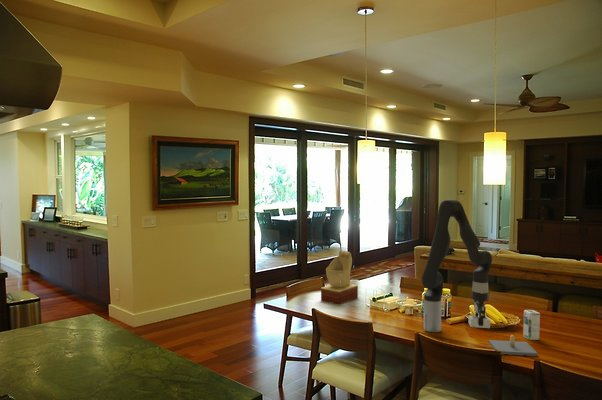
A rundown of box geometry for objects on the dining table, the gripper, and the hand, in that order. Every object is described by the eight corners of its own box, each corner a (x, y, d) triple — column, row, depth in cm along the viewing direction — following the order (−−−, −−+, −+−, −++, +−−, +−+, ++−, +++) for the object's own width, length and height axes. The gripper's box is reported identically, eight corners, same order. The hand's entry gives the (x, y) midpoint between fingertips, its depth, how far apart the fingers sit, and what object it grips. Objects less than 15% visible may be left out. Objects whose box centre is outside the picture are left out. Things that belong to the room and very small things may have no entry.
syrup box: (522, 336, 230) (523, 309, 230) (533, 336, 231) (533, 309, 230) (529, 340, 225) (529, 313, 224) (540, 339, 225) (540, 312, 225)
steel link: (471, 326, 213) (471, 319, 213) (468, 323, 219) (468, 315, 219) (490, 328, 212) (490, 320, 212) (487, 324, 218) (487, 316, 218)
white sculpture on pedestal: (340, 293, 325) (340, 247, 324) (360, 297, 314) (360, 250, 313) (320, 300, 307) (320, 251, 305) (341, 304, 295) (340, 254, 294)
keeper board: (497, 354, 206) (497, 339, 206) (488, 342, 221) (489, 329, 221) (537, 356, 204) (537, 341, 203) (526, 344, 218) (526, 331, 218)
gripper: (469, 286, 223) (468, 318, 223) (475, 293, 208) (474, 327, 209) (484, 287, 221) (483, 319, 222) (491, 294, 207) (490, 328, 208)
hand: (479, 323), depth 216 cm, fingers closed on steel link, 6 cm apart
